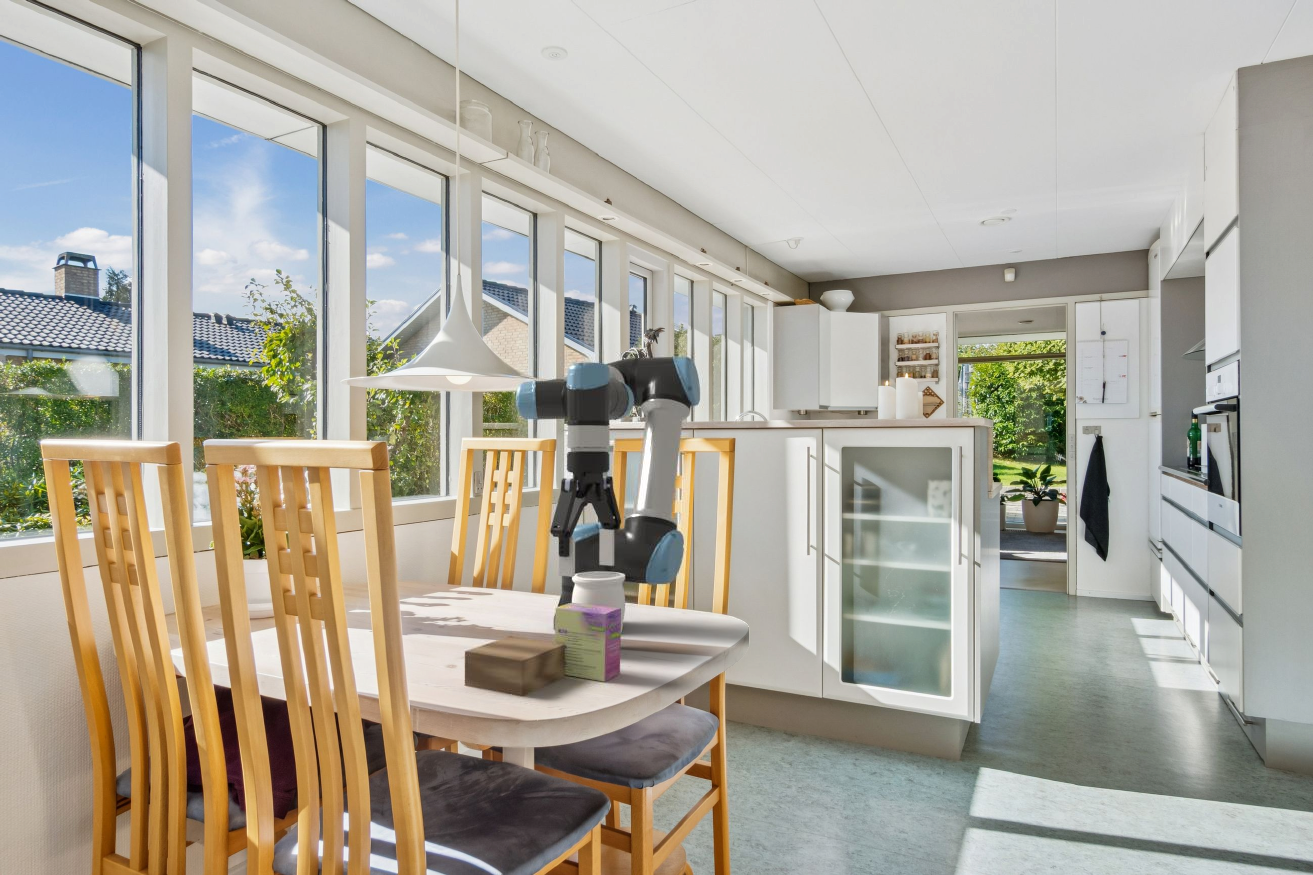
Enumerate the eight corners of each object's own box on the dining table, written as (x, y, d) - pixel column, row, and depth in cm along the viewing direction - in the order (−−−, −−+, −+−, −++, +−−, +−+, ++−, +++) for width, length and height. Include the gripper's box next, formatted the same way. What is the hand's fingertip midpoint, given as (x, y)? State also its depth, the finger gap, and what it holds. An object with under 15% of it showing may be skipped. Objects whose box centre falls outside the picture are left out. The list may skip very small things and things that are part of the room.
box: (621, 673, 138) (621, 607, 138) (605, 682, 132) (605, 613, 133) (571, 666, 142) (571, 601, 142) (554, 674, 137) (554, 607, 137)
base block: (509, 669, 141) (510, 636, 141) (564, 678, 136) (564, 644, 136) (464, 686, 131) (464, 651, 131) (521, 698, 125) (522, 660, 125)
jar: (597, 641, 160) (598, 568, 160) (635, 650, 153) (636, 574, 154) (560, 652, 152) (560, 575, 152) (598, 661, 145) (599, 581, 145)
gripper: (604, 450, 151) (604, 559, 150) (529, 450, 128) (528, 579, 128) (639, 450, 147) (638, 562, 147) (568, 450, 125) (567, 582, 125)
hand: (587, 570), depth 137 cm, fingers open, 13 cm apart
